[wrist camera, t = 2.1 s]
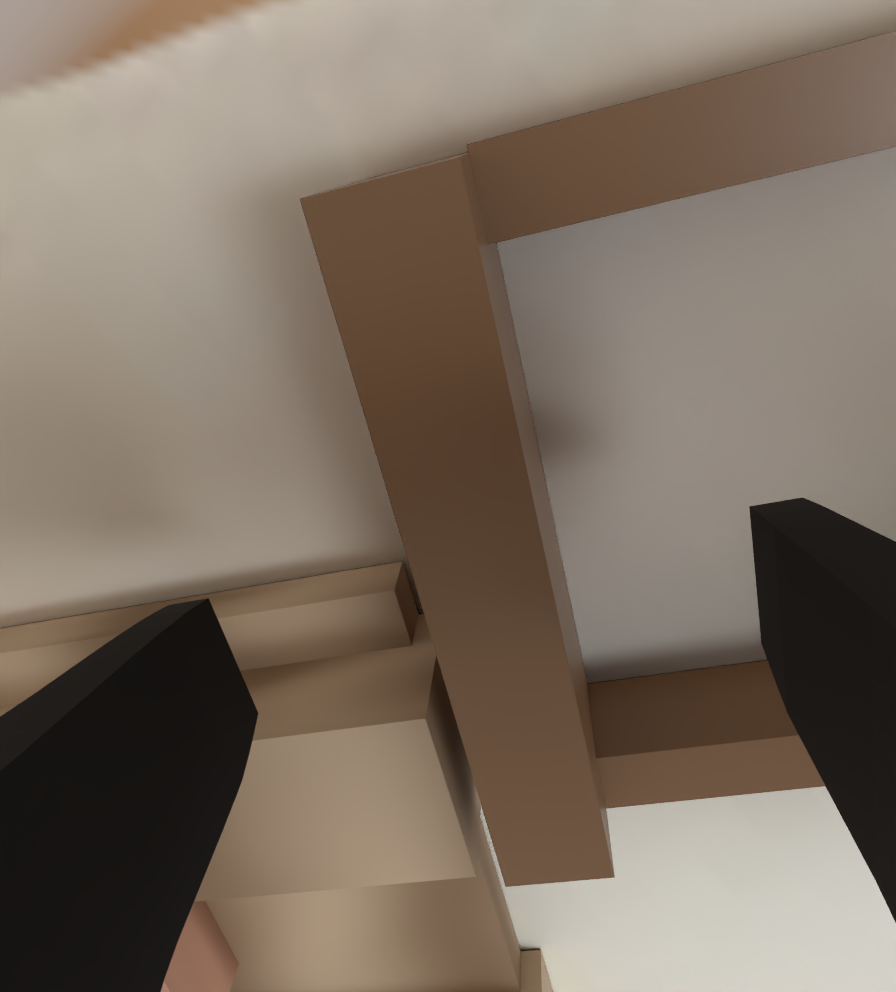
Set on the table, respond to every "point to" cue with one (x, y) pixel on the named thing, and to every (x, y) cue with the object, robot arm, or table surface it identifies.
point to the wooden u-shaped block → (329, 799)
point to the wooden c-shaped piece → (515, 452)
